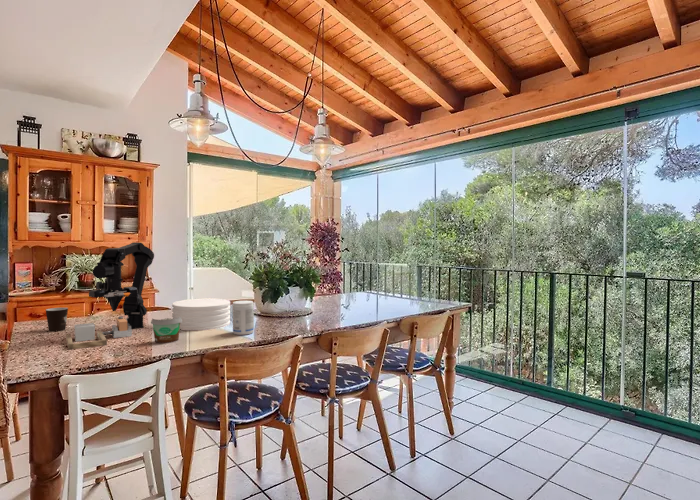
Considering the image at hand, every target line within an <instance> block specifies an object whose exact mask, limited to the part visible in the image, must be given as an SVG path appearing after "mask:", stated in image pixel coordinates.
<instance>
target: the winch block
mask: <svg viewBox="0 0 700 500" xmlns="http://www.w3.org/2000/svg"><path fill="white" fill-rule="evenodd" d="M111 327H112V328H111V330H108V331H102V333H103V335H104V336H108V335H109V336H112V337H113V338H114V339H117V338H125V337H132V336H133V329H131V325H130V324H129V323H127V330H126V331H119V330H118V327H117V324H112V326H111Z"/></svg>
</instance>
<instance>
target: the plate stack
mask: <svg viewBox="0 0 700 500" xmlns="http://www.w3.org/2000/svg"><path fill="white" fill-rule="evenodd" d="M171 304H172V305H171V307H172V308H171V310H172V315H171V317H172V318H171V319H176V318H180V317H181V318H182V322H180V329H181V330H183V331H208V330H216V329H221V328H224V327H228V326H230V325H231V300H229V299H224V298H212V297H211V298H208V297H207V298H189V299H182V300H177V301H174V302H172V303H171ZM181 330H180V331H181Z"/></svg>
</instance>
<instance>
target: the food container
mask: <svg viewBox="0 0 700 500" xmlns="http://www.w3.org/2000/svg"><path fill="white" fill-rule="evenodd" d="M180 322H182V318H181V317H180V318H176V319H172V318H168V317H167V318H163V319H154V318H152V319H151V322H150V324H151V325H152V327H153V328H152V329H153V337H154V342H155V343H157V344H169V343H175V342H178V341H179V339H180V331H181V330H180Z"/></svg>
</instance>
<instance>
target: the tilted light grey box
mask: <svg viewBox="0 0 700 500" xmlns="http://www.w3.org/2000/svg"><path fill="white" fill-rule="evenodd" d="M74 340H75V343H79V342H87V341H96V325H95V323H94V322H88V323H78V324H74Z"/></svg>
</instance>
